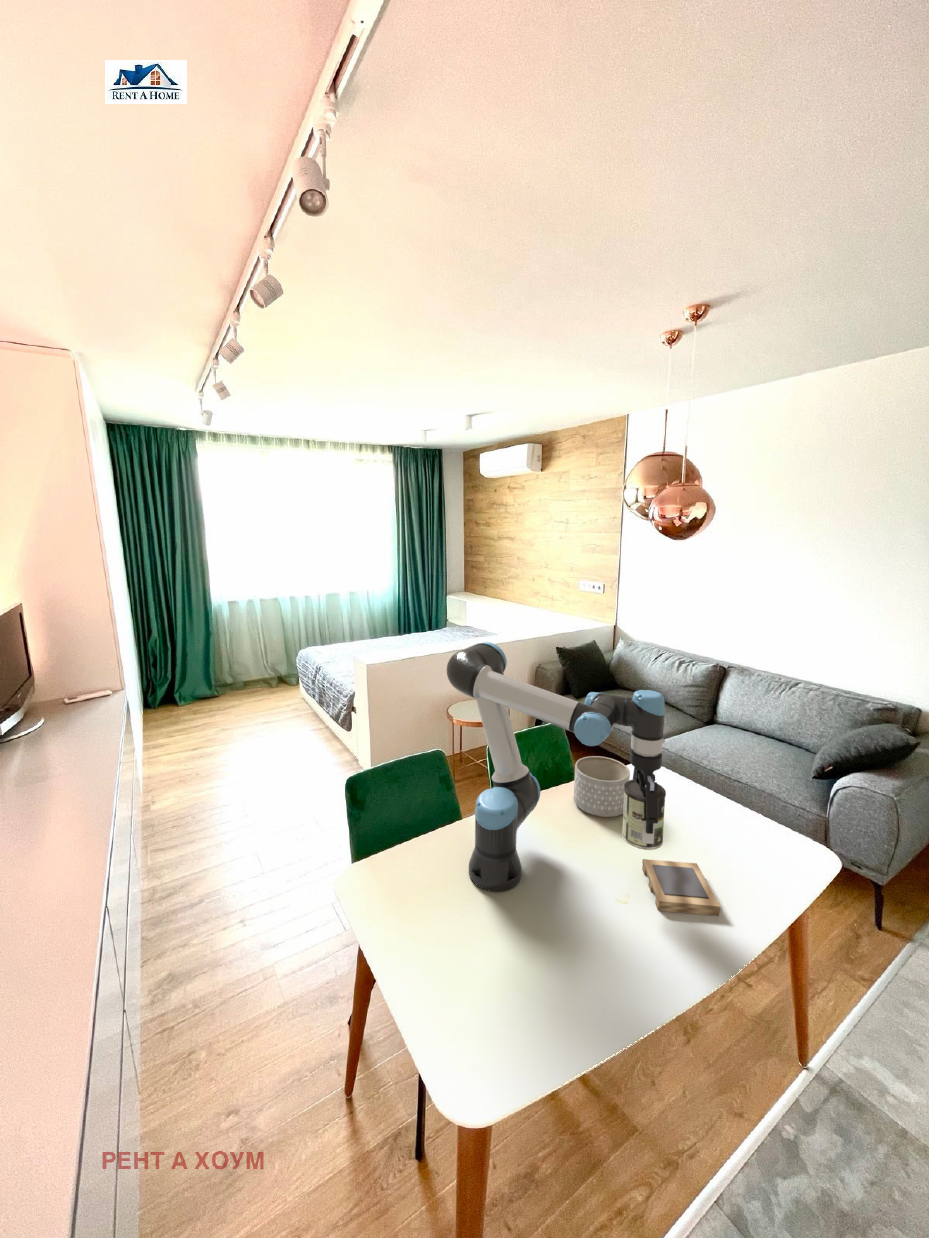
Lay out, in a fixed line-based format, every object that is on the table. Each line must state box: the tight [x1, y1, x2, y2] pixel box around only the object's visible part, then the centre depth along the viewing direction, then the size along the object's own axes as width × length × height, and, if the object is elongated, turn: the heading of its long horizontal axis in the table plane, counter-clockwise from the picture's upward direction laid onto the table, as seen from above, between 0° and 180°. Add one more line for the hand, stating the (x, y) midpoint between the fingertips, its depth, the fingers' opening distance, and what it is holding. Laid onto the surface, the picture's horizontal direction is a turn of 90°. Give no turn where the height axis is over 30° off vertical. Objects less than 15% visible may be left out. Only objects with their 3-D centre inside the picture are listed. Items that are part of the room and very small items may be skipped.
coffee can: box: [621, 778, 667, 851], centre depth 123 cm, size 10×10×14 cm
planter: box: [573, 755, 631, 818], centre depth 167 cm, size 19×19×14 cm
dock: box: [641, 858, 722, 917], centre depth 127 cm, size 15×16×3 cm
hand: (642, 829), depth 123 cm, fingers closed on coffee can, 10 cm apart
